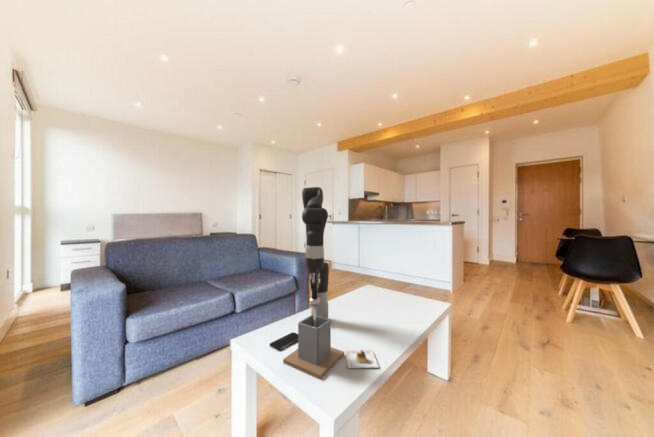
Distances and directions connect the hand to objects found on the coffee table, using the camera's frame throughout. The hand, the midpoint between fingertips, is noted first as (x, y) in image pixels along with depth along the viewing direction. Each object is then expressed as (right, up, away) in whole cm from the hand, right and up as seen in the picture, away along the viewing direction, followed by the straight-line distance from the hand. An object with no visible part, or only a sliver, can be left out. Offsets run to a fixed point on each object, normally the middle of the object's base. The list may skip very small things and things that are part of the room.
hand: (314, 298), depth 98 cm
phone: (-14, -26, +14) cm, 32 cm away
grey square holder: (0, -25, 0) cm, 25 cm away
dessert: (+19, -26, -1) cm, 32 cm away
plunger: (0, -17, 0) cm, 17 cm away
